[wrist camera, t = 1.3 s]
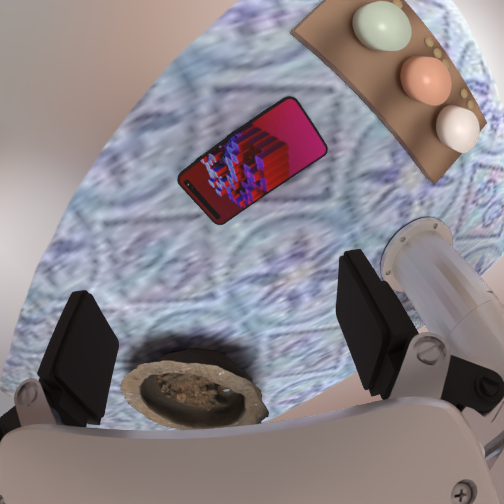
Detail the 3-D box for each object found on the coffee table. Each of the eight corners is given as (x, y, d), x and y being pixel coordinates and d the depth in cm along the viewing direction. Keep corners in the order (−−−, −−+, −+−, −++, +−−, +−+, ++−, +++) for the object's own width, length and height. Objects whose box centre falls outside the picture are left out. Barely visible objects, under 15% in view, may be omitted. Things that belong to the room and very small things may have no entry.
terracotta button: (444, 82, 24) (458, 85, 22) (419, 110, 26) (432, 115, 24) (418, 47, 22) (432, 47, 20) (391, 75, 24) (404, 77, 22)
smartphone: (331, 152, 31) (218, 228, 35) (328, 150, 32) (218, 225, 35) (292, 92, 27) (173, 178, 31) (290, 92, 28) (174, 175, 31)
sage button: (406, 32, 21) (420, 31, 19) (378, 60, 23) (390, 61, 21) (372, -5, 19) (384, -9, 17) (342, 23, 21) (352, 20, 19)
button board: (477, 118, 29) (488, 123, 27) (426, 177, 34) (435, 184, 32) (360, -32, 19) (369, -36, 17) (289, 33, 24) (294, 30, 22)
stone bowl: (280, 390, 56) (284, 432, 49) (169, 404, 60) (164, 441, 53) (240, 312, 42) (240, 368, 35) (101, 338, 46) (86, 383, 39)
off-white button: (471, 127, 27) (484, 133, 25) (449, 154, 29) (461, 161, 27) (453, 96, 25) (467, 100, 23) (429, 124, 26) (442, 129, 25)
